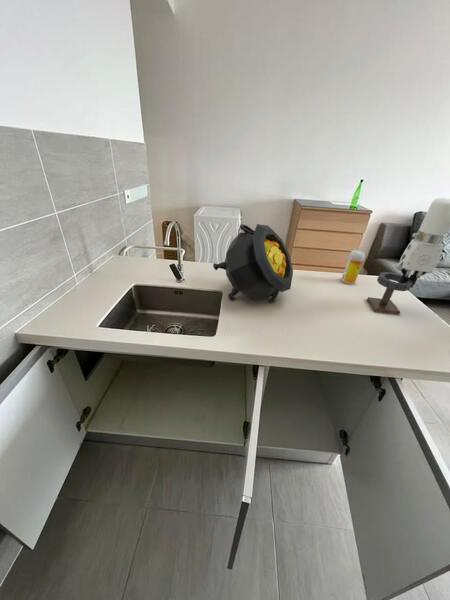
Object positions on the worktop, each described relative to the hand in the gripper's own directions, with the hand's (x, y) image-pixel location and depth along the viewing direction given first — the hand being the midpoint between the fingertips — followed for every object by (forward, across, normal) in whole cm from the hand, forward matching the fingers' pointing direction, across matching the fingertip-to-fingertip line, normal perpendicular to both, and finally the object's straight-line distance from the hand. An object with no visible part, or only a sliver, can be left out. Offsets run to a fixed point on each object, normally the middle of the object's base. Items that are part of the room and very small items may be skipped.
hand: (405, 285), depth 92 cm
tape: (0, -4, 0) cm, 5 cm away
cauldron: (+11, -58, -4) cm, 59 cm away
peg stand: (+11, -5, 0) cm, 12 cm away
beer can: (+11, -13, +21) cm, 27 cm away
